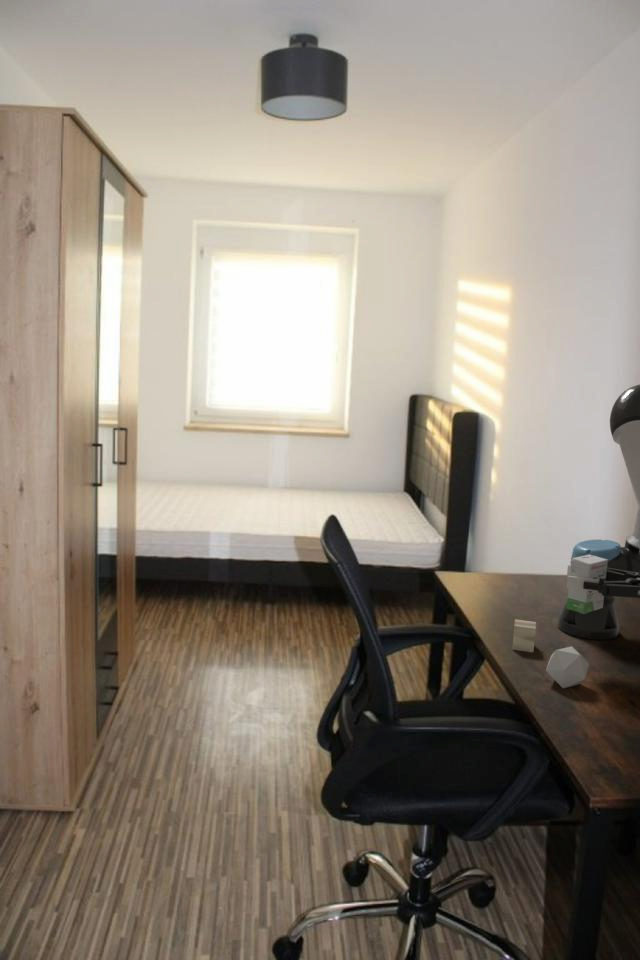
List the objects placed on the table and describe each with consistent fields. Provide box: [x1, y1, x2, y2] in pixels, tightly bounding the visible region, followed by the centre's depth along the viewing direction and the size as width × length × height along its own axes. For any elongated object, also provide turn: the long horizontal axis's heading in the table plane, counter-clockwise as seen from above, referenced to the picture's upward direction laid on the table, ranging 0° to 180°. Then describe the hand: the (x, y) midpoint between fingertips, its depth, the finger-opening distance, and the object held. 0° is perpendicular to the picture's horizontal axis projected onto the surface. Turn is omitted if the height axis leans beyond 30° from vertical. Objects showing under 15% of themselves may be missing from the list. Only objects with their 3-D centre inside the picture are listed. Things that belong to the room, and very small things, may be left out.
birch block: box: [511, 619, 537, 653], centre depth 201 cm, size 5×5×6 cm
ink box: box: [566, 555, 608, 614], centre depth 190 cm, size 9×5×12 cm, turn 133°
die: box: [545, 646, 590, 689], centre depth 180 cm, size 8×9×10 cm
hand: (567, 576), depth 191 cm, fingers closed on ink box, 9 cm apart
